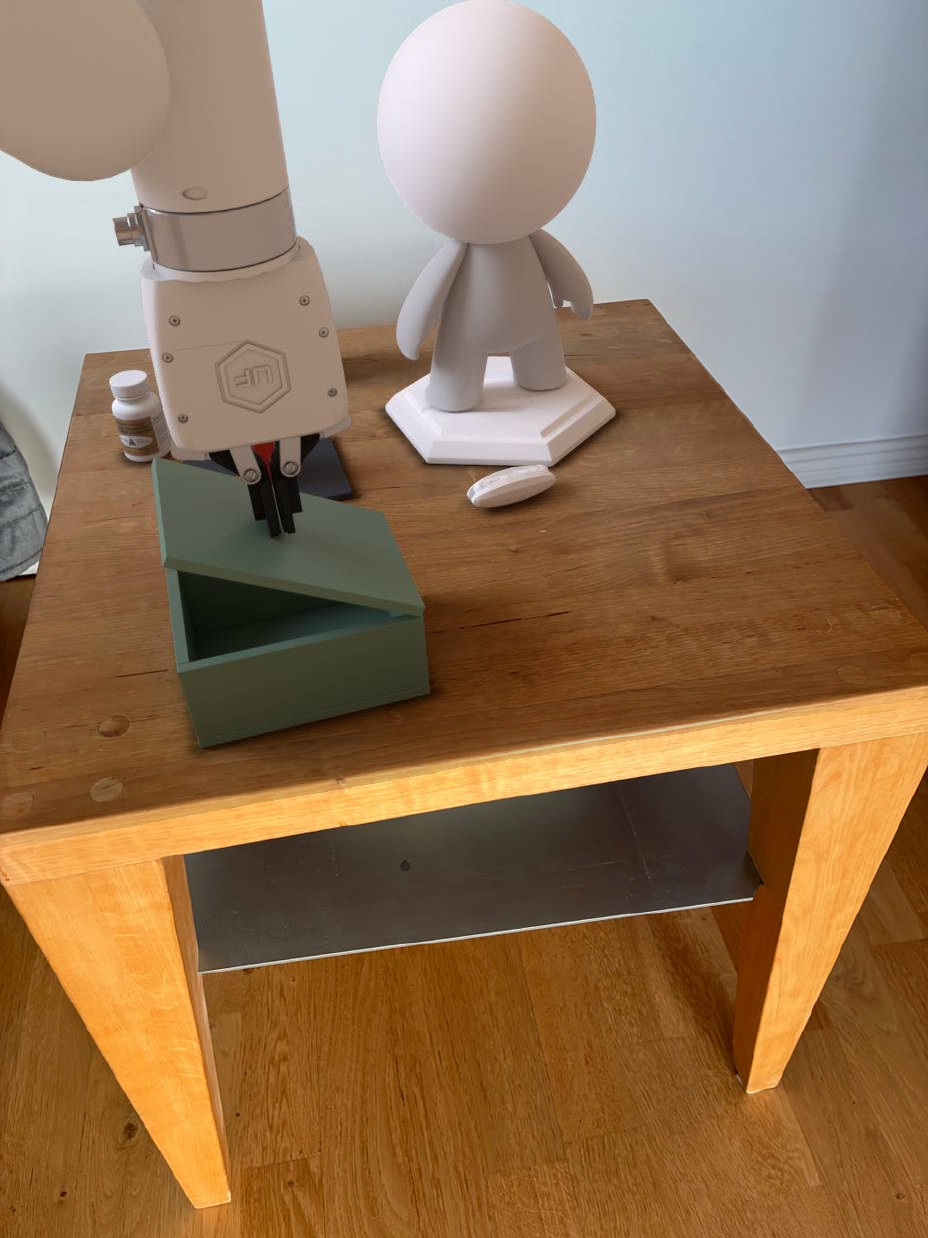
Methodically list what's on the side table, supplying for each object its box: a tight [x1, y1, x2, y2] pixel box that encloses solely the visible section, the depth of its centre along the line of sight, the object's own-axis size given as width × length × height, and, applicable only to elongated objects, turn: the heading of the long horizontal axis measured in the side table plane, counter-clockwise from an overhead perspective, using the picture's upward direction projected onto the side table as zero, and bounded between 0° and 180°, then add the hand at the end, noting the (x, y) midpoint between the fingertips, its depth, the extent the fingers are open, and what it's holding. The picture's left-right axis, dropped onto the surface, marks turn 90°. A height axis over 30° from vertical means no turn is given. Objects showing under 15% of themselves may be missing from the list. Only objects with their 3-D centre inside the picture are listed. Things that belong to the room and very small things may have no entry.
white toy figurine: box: [376, 0, 616, 468], centre depth 86 cm, size 20×23×35 cm
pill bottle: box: [109, 369, 171, 463], centre depth 91 cm, size 4×4×8 cm
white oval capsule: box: [466, 465, 557, 509], centre depth 84 cm, size 3×8×3 cm, turn 115°
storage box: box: [164, 568, 431, 749], centre depth 67 cm, size 16×12×7 cm
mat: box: [181, 436, 354, 502], centre depth 89 cm, size 14×11×1 cm
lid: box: [150, 457, 426, 617], centre depth 62 cm, size 16×12×1 cm
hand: (280, 523), depth 62 cm, fingers closed
